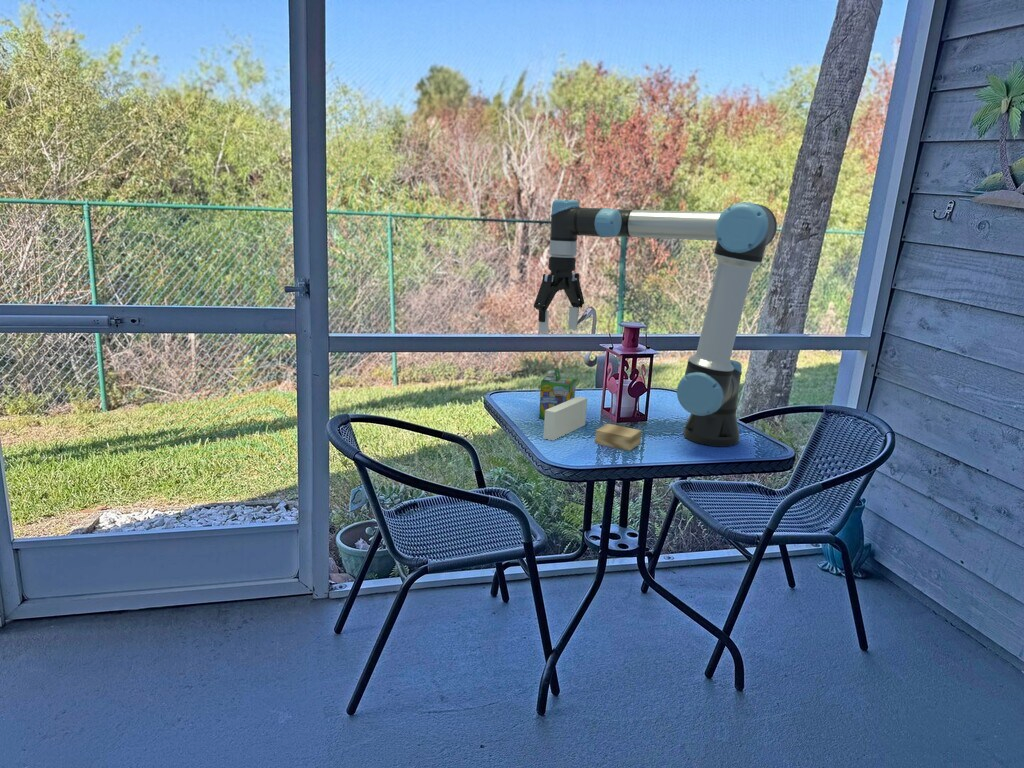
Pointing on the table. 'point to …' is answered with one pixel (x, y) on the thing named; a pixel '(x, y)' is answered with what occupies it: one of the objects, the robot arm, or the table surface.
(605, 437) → the oak block
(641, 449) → the table surface
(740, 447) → the table surface
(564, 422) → the white board
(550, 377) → the chalk box
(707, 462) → the table surface
